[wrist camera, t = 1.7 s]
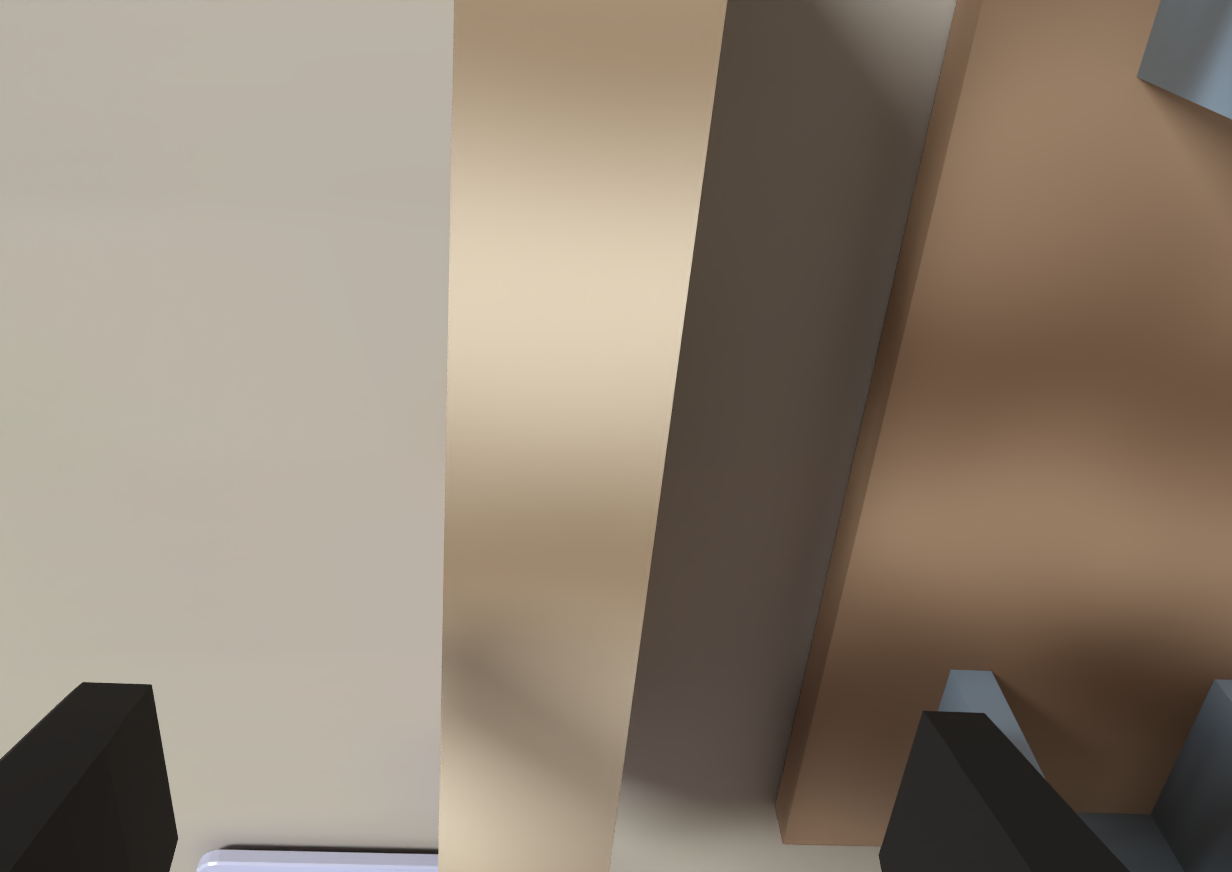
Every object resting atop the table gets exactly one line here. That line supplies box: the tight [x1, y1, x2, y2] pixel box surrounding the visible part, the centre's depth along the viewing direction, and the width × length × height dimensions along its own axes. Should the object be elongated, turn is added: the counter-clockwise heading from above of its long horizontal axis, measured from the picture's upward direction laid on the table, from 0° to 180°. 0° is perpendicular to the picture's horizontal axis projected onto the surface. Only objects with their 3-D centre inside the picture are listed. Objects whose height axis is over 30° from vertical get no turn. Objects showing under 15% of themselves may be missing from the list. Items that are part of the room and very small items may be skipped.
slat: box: [438, 0, 727, 872], centre depth 16 cm, size 16×2×6 cm, turn 175°
